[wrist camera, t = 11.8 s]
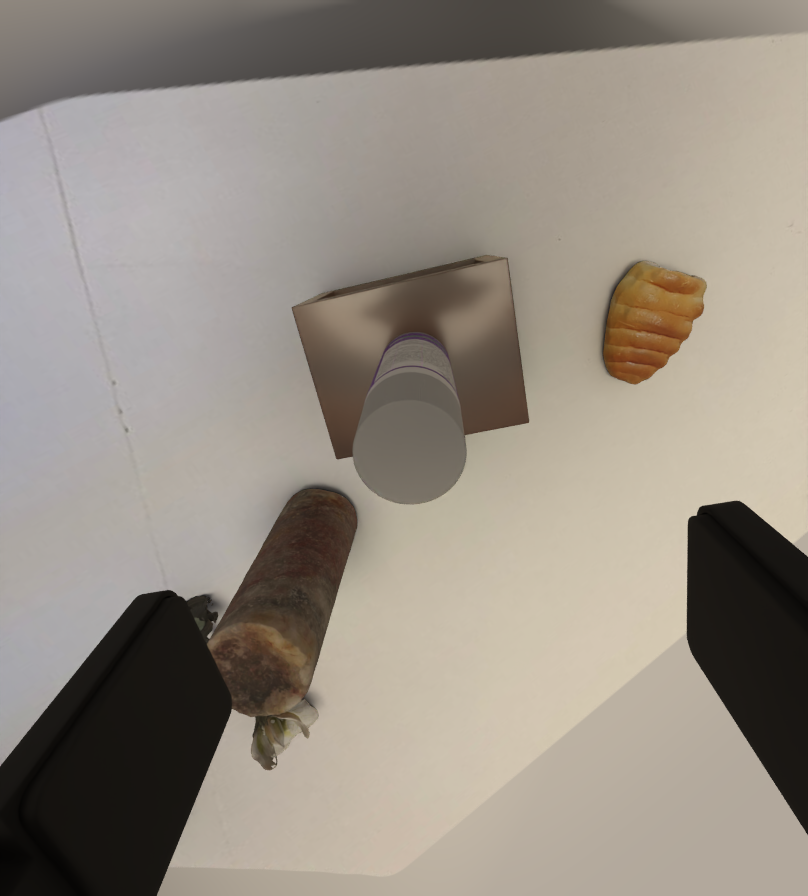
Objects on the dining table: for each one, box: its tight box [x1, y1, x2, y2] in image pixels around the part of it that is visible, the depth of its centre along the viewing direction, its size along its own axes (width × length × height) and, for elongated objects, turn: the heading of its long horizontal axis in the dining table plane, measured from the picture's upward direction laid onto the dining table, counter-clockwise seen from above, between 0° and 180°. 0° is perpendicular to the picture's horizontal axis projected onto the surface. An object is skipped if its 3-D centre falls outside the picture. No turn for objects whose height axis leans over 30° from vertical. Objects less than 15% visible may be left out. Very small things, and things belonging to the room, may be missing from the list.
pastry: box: [603, 261, 707, 384], centre depth 39 cm, size 9×7×4 cm
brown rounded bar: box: [207, 489, 357, 717], centre depth 40 cm, size 8×7×20 cm
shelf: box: [292, 255, 529, 459], centre depth 37 cm, size 11×14×10 cm
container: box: [353, 332, 466, 504], centre depth 26 cm, size 5×5×15 cm
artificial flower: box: [186, 596, 318, 770], centre depth 54 cm, size 9×22×10 cm, turn 23°
